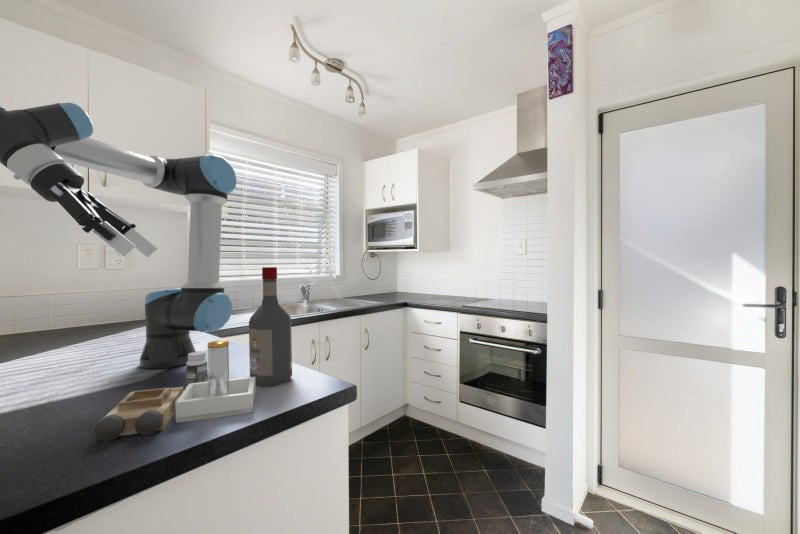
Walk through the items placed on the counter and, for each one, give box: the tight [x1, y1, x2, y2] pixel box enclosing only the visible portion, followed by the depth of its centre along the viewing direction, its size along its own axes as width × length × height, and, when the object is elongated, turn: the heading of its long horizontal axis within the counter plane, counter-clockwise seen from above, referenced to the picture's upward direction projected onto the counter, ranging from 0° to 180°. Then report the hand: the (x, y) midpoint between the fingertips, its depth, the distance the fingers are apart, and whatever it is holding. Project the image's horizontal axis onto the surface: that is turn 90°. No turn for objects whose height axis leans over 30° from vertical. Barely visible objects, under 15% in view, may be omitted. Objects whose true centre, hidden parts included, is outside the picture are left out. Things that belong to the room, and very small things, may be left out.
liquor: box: [248, 266, 293, 388], centre depth 96 cm, size 9×9×30 cm
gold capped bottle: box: [207, 340, 230, 397], centre depth 79 cm, size 4×4×13 cm
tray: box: [175, 376, 257, 424], centre depth 79 cm, size 12×14×4 cm
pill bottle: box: [185, 350, 209, 387], centre depth 93 cm, size 5×5×8 cm
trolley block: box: [93, 386, 184, 442], centre depth 74 cm, size 18×10×4 cm, turn 19°
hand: (142, 252), depth 76 cm, fingers open, 13 cm apart
